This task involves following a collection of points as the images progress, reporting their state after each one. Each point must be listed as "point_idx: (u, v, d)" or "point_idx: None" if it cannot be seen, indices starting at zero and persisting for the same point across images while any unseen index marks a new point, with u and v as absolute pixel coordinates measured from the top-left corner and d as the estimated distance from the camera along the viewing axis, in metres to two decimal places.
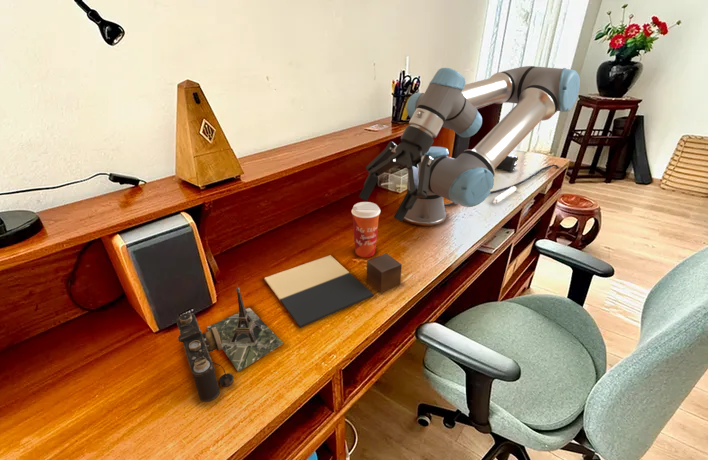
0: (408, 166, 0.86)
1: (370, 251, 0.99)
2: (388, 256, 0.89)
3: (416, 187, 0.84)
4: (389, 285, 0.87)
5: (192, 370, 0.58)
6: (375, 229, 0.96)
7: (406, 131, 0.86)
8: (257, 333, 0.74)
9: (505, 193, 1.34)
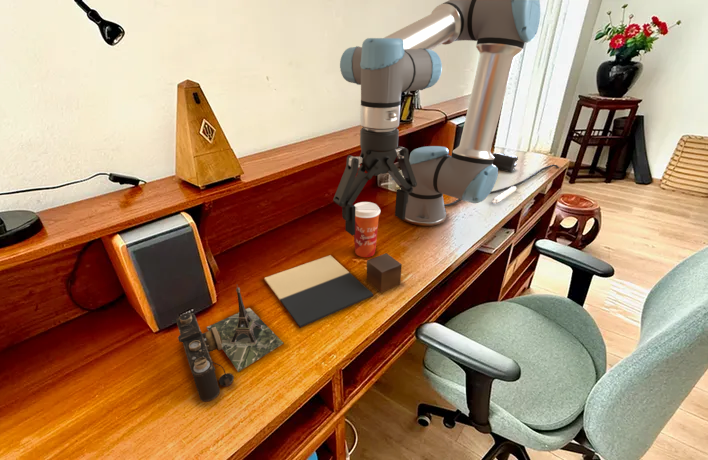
0: (395, 171, 0.75)
1: (370, 251, 0.99)
2: (388, 256, 0.89)
3: None
4: (389, 285, 0.87)
5: (192, 370, 0.58)
6: (375, 229, 0.96)
7: (386, 142, 0.68)
8: (257, 333, 0.74)
9: (505, 193, 1.34)
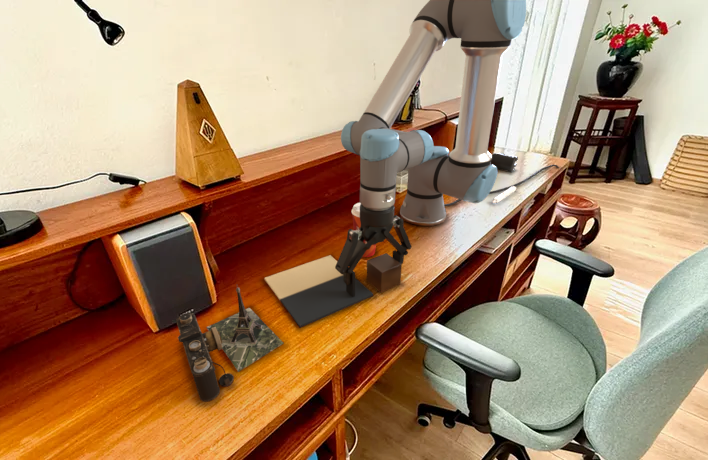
0: (391, 239, 0.83)
1: (370, 251, 0.99)
2: (388, 256, 0.89)
3: None
4: (389, 285, 0.87)
5: (192, 370, 0.58)
6: None
7: (383, 219, 0.76)
8: (257, 333, 0.74)
9: (505, 193, 1.34)
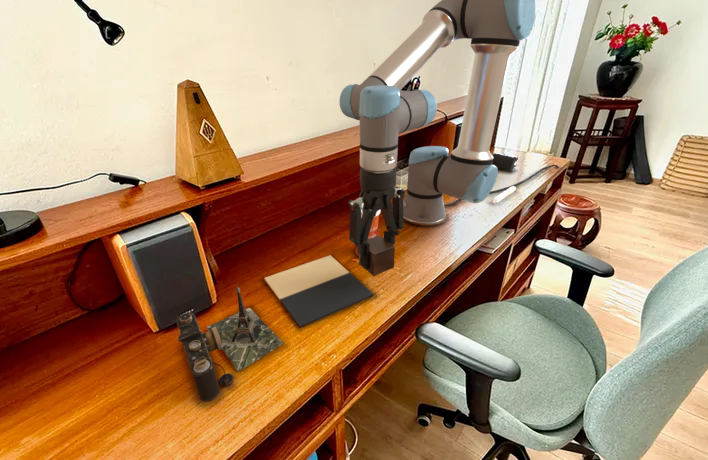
0: (389, 210, 0.78)
1: None
2: (381, 238, 0.85)
3: None
4: (382, 268, 0.83)
5: (192, 370, 0.58)
6: (375, 229, 0.96)
7: (384, 182, 0.72)
8: (257, 333, 0.74)
9: (505, 193, 1.34)
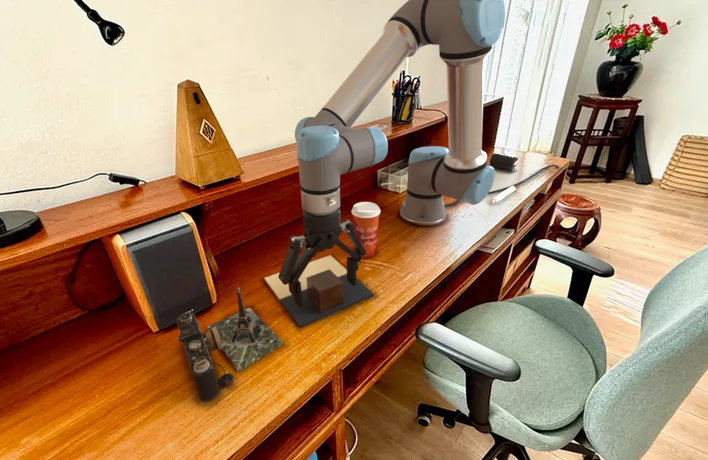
0: (340, 246, 0.76)
1: (370, 251, 0.99)
2: (330, 273, 0.82)
3: None
4: (330, 305, 0.80)
5: (192, 370, 0.58)
6: (375, 229, 0.96)
7: (326, 224, 0.69)
8: (257, 333, 0.74)
9: (504, 193, 1.34)
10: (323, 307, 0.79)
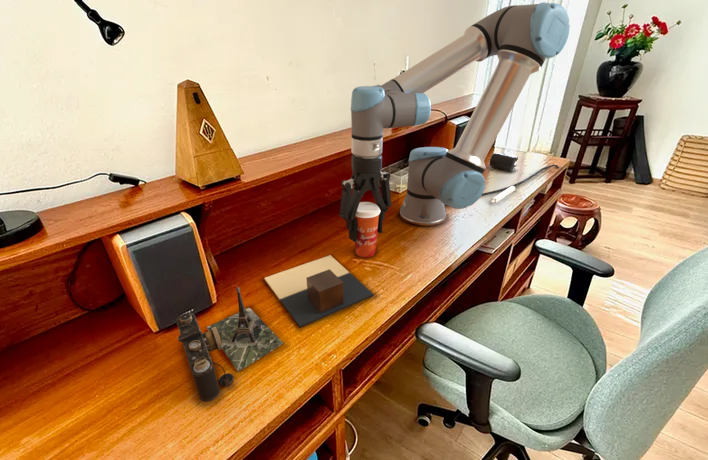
0: (377, 190, 0.93)
1: (370, 251, 0.99)
2: (330, 273, 0.82)
3: None
4: (330, 305, 0.80)
5: (192, 370, 0.58)
6: (375, 229, 0.96)
7: (372, 166, 0.86)
8: (257, 333, 0.74)
9: (504, 193, 1.34)
10: (323, 307, 0.79)
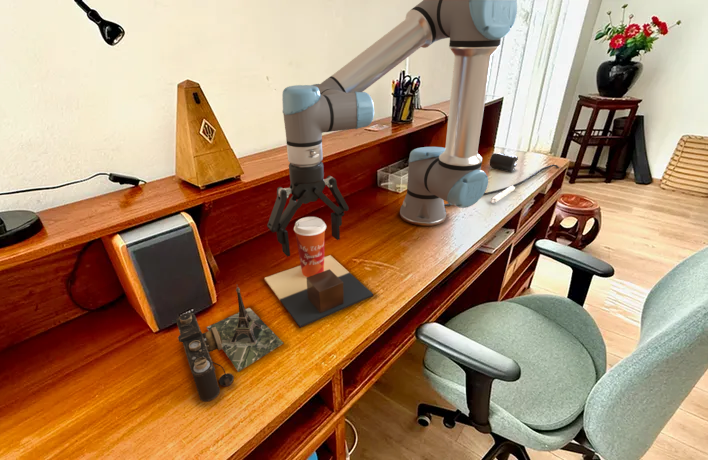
0: (324, 199, 0.84)
1: (316, 271, 0.90)
2: (330, 273, 0.82)
3: None
4: (330, 305, 0.80)
5: (192, 370, 0.58)
6: (320, 247, 0.87)
7: (309, 175, 0.77)
8: (257, 333, 0.74)
9: (503, 193, 1.35)
10: (323, 307, 0.79)
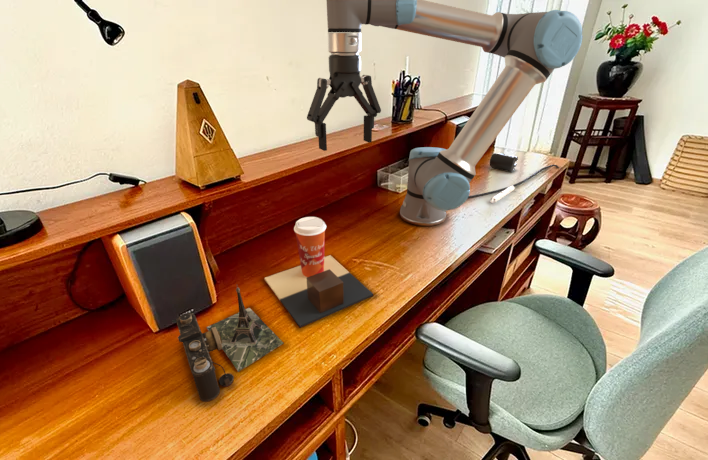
0: (360, 95, 0.88)
1: (316, 271, 0.90)
2: (330, 273, 0.82)
3: None
4: (330, 305, 0.80)
5: (192, 370, 0.58)
6: (320, 247, 0.87)
7: (349, 64, 0.81)
8: (257, 333, 0.74)
9: (503, 192, 1.35)
10: (323, 307, 0.79)
